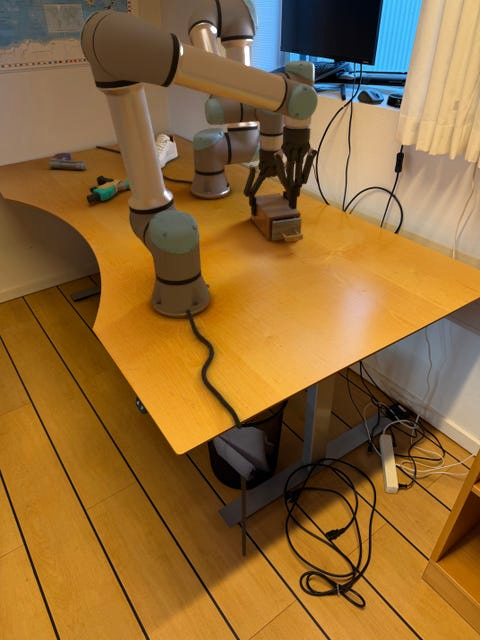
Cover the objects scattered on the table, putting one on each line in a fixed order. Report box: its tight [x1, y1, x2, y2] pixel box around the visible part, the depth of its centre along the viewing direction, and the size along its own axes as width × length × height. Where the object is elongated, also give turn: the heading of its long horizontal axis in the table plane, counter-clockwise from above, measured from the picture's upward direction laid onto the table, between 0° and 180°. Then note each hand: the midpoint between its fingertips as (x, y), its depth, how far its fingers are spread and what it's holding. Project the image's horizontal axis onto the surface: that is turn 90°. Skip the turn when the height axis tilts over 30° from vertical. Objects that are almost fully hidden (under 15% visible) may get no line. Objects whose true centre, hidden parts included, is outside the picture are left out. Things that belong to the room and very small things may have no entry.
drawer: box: [271, 216, 304, 243], centre depth 155 cm, size 23×10×6 cm, turn 17°
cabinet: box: [250, 192, 301, 241], centre depth 160 cm, size 18×11×8 cm, turn 17°
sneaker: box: [155, 133, 179, 169], centre depth 214 cm, size 10×29×12 cm, turn 163°
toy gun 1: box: [47, 152, 87, 171], centre depth 216 cm, size 4×19×15 cm
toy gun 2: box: [86, 175, 131, 204], centre depth 187 cm, size 4×26×15 cm
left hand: (292, 207), depth 144 cm, fingers closed
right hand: (269, 212), depth 164 cm, fingers closed on cabinet, 11 cm apart
